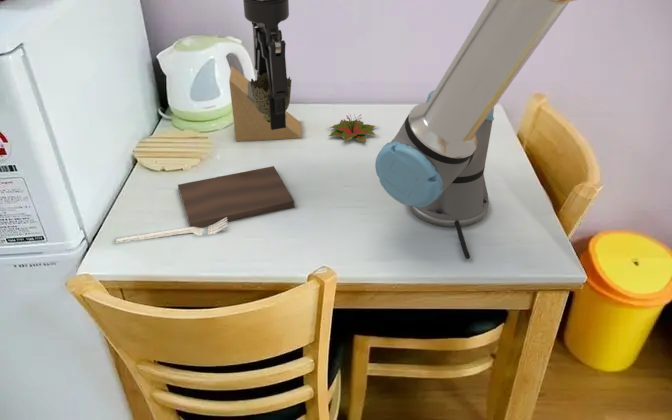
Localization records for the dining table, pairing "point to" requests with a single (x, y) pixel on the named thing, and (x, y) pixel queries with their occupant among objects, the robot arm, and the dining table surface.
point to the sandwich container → (255, 114)
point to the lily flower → (352, 130)
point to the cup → (261, 90)
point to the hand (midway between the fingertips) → (272, 118)
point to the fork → (177, 232)
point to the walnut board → (234, 196)
